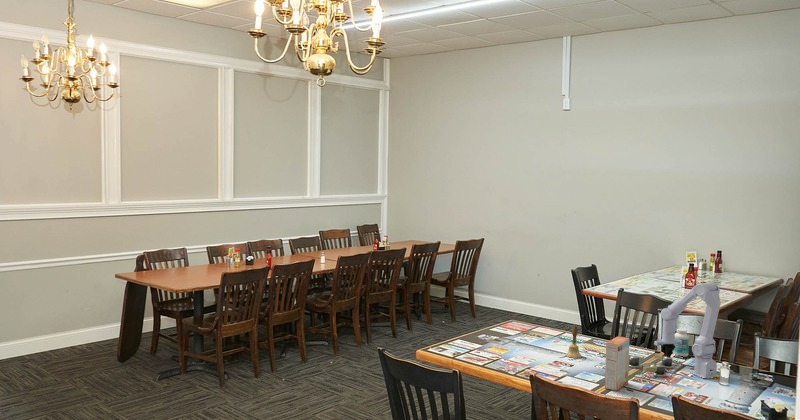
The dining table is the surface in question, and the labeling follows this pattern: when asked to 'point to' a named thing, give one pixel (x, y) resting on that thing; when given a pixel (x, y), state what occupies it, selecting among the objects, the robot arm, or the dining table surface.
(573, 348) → the hand bell
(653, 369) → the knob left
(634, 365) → the levelling base
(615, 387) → the cracker box
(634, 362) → the knob
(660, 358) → the knob
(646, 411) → the dining table surface
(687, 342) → the pill bottle
